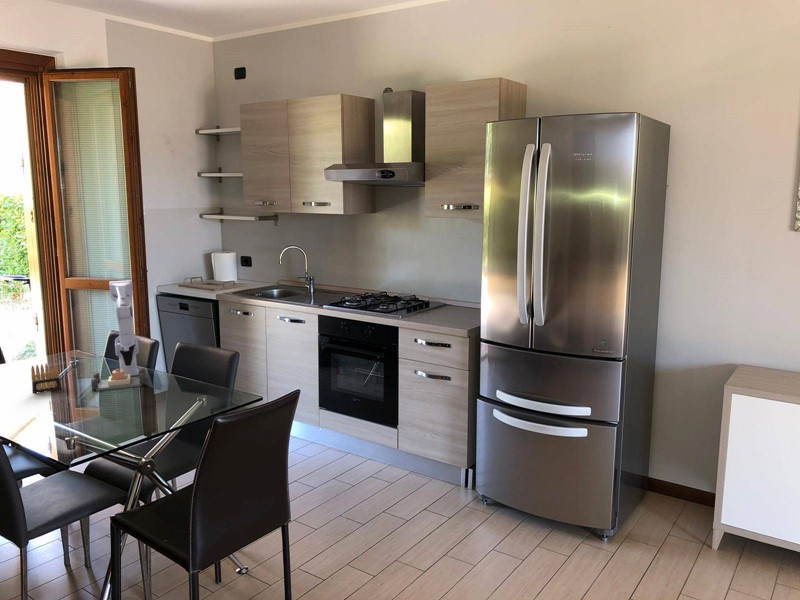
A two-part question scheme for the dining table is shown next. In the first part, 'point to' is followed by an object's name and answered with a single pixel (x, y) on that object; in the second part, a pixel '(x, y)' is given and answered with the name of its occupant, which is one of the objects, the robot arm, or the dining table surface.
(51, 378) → the ammunition clip
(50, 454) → the dining table surface
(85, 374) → the dining table surface
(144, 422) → the dining table surface
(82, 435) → the dining table surface
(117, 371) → the block
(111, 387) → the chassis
